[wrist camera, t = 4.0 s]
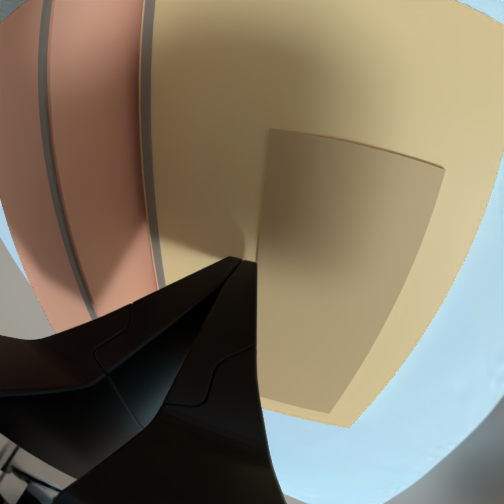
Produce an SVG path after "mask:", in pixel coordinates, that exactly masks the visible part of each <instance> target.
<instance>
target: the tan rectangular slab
mask: <svg viewBox="0 0 504 504" xmlns="http://www.w3.org/2000/svg"><path fill="white" fill-rule="evenodd" d="M139 127H140V148H141V164H142V176H143V188H144V198H145V207H146V215H147V224H148V231H149V238H150V245H151V252H152V259H153V265H154V271H155V277H156V282H157V288H158V290H159V289H161V288H163V287H165V286H167V285H169V284H171V283H173V282H176V281H178V280H180V279H182V278H184V277H186V276H188V275H190V274H192V273H194V272H196V271H199V270H201V269H203V268H205V267H207V266H209V265H211V264H213V263H215V262H218V261H220V260H222V259H224V258H226V257H228V256H233V257H237V258H241V259H242V260H249V261H253V262H256V263H257V264H258V285H257V374H258V385H259V393H260V400H261V406H262V408H264V409H267V410H271V411H274V412H278V413H282V414H286V415H290V416H294V417H298V418H302V419H306V420H311V421H315V422H320V423H325V424H330V425H335V426H340V427H346V428H350V427H351V425H352V424H353V423H354V422H355V421H356V420H357V419H358V418H359V417H360V416H361V415H362V414H363V412H364V411H365V410H366V409H367V408H368V407H369V406H370V404H371V403H372V402H373V401H374V400H375V399H376V397H377V396H378V395H379V394H380V393H381V391H382V390H383V389H384V388H385V386H386V385H387V384H388V383H389V381H390V380H391V379H392V378H393V376H394V375H395V374H396V372H397V371H398V370H399V368H400V367H401V366H402V364H403V363H404V362H405V360H406V359H407V357H408V356H409V355H410V353H411V352H412V350H413V349H414V347H415V346H416V345H417V343H418V342H419V340H420V339H421V337H422V335H423V334H424V332H425V331H426V329H427V328H428V326H429V325H430V323H431V321H432V320H433V318H434V316H435V315H436V313H437V311H438V310H439V308H440V306H441V305H442V303H443V301H444V299H445V297H446V296H447V294H448V292H449V290H450V288H451V286H452V285H453V283H454V281H455V279H456V277H457V275H458V273H459V271H460V269H461V267H462V265H463V263H464V261H465V258H466V256H467V254H468V252H469V250H470V248H471V245H472V243H473V241H474V238H475V236H476V234H477V231H478V229H479V226H480V224H481V221H482V218H483V216H484V213H485V210H486V208H487V205H488V202H489V199H490V196H491V193H492V190H493V187H494V184H495V180H496V177H497V174H498V170H499V166H500V163H501V159H502V155H503V151H504V25H503V24H502V23H500V22H498V21H496V20H495V19H493V18H491V17H489V16H487V15H485V14H483V13H481V12H479V11H477V10H475V9H473V8H471V7H469V6H467V5H464V4H462V3H460V2H457V1H455V0H144V1H143V10H142V22H141V35H140V55H139Z"/></svg>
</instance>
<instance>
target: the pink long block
mask: <svg viewBox="0 0 504 504" xmlns="http://www.w3.org/2000/svg"><path fill="white" fill-rule="evenodd" d="M143 1H144V0H27V1H26V2H24V3H23V4H22V5H21V6H20V7H18V8H17V9H16V10H15V11H14V12H13V13H11V14H10V15H9V16H8V17H7V18H6V19H5V20H4V21H3V22H1V23H0V199H1V203H2V207H3V210H4V214H5V217H6V220H7V223H8V227H9V230H10V233H11V236H12V239H13V241H14V244H15V247H16V250H17V252H18V255H19V258H20V260H21V263H22V265H23V268H24V270H25V272H26V275H27V277H28V279H29V282H30V284H31V286H32V288H33V290H34V293H35V295H36V297H37V299H38V301H39V303H40V305H41V307H42V309H43V311H44V313H45V315H46V317H47V319H48V321H49V322H50V324H51V326H52V328H53V330H54V331H55V333H56V334H57V333H59V332H62V331H65V330H68V329H70V328H73V327H76V326H78V325H81V324H84V323H86V322H89V321H91V320H94V319H96V318H99V317H101V316H104V315H106V314H108V313H110V312H112V311H115V310H117V309H119V308H121V307H123V306H125V305H127V304H129V303H132V304H133V302H134V301H136V300H138V299H140V298H142V297H144V296H146V295H148V294H150V293H153V292H155V291H157V290H158V288H157V282H156V277H155V271H154V265H153V259H152V252H151V245H150V238H149V231H148V224H147V215H146V207H145V198H144V188H143V176H142V164H141V148H140V127H139V55H140V35H141V22H142V10H143Z"/></svg>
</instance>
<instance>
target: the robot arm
mask: <svg viewBox="0 0 504 504" xmlns="http://www.w3.org/2000/svg"><path fill="white" fill-rule="evenodd" d="M257 285H258V264H257V263H256V262H253V261H249V260H242V259H241V258H237V257H233V256H228V257H226V258H224V259H222V260H220V261H218V262H215V263H213V264H211V265H209V266H207V267H205V268H203V269H201V270H199V271H196V272H194V273H192V274H190V275H188V276H186V277H184V278H182V279H180V280H178V281H176V282H173V283H171V284H169V285H167V286H165V287H163V288H161V289H159V290H157V291H155V292H153V293H150V294H148V295H146V296H144V297H142V298H140V299H138V300H136V301H134V302H133V304H132V303H129V304H127V305H125V306H123V307H121V308H119V309H117V310H115V311H112V312H110V313H108V314H106V315H104V316H101V317H99V318H96V319H94V320H91V321H89V322H86V323H84V324H81V325H78V326H76V327H73V328H70V329H68V330H65V331H62V332H59V333H57V334H54V335H51V336H49V337H45V338H42V339H37V340H24V339H18V338H12V337H7V336H2V335H0V504H287V503H286V500H285V498H284V495H283V493H282V490H281V487H280V485H279V482H278V480H277V477H276V474H275V471H274V468H273V464H272V460H271V456H270V452H269V446H268V441H267V435H266V430H265V424H264V418H263V412H262V406H261V400H260V393H259V385H258V374H257Z"/></svg>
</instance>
